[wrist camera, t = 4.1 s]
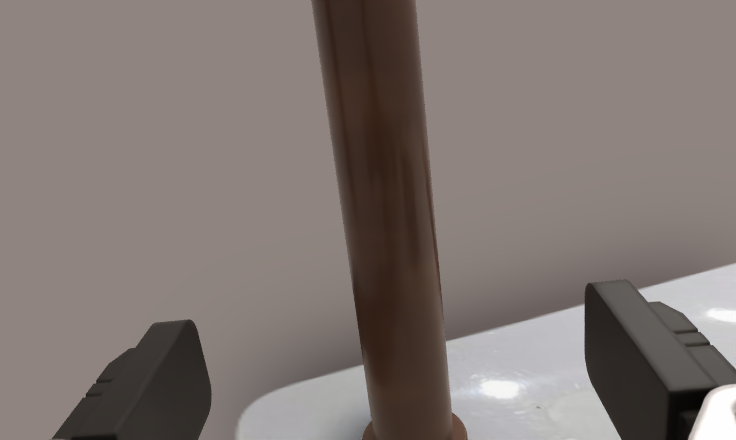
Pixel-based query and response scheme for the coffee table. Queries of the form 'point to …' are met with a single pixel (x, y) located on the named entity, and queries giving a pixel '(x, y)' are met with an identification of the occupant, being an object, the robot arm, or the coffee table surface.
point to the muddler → (388, 212)
